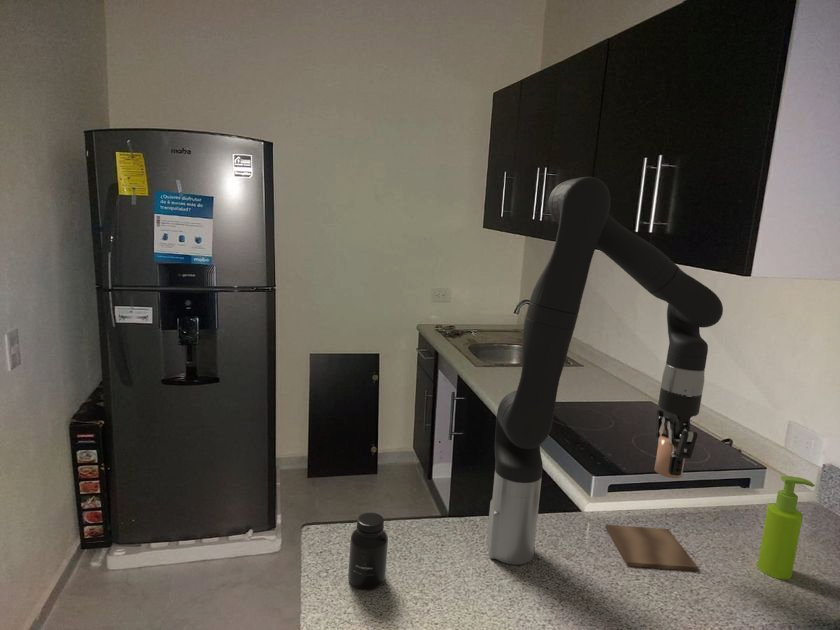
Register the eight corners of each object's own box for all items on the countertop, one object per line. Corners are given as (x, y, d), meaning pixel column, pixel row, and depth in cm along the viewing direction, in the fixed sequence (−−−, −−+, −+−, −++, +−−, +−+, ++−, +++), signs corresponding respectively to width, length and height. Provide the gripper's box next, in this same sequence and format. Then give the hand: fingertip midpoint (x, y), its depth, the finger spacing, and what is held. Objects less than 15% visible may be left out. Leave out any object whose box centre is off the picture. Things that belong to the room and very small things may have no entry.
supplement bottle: (356, 595, 96) (359, 532, 94) (342, 573, 102) (345, 513, 100) (391, 585, 99) (395, 524, 97) (377, 564, 105) (380, 506, 103)
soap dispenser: (802, 582, 107) (820, 487, 104) (764, 576, 109) (781, 482, 106) (789, 565, 113) (806, 474, 110) (752, 559, 114) (768, 469, 111)
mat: (627, 565, 109) (627, 562, 109) (605, 527, 123) (605, 524, 123) (697, 570, 109) (697, 567, 109) (667, 532, 123) (668, 529, 123)
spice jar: (660, 476, 110) (665, 443, 108) (650, 465, 115) (655, 434, 114) (686, 479, 109) (692, 446, 108) (675, 468, 115) (680, 436, 113)
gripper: (649, 377, 116) (637, 452, 119) (677, 397, 102) (664, 482, 105) (684, 380, 116) (672, 455, 119) (718, 401, 102) (703, 486, 105)
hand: (668, 467), depth 112 cm, fingers closed on spice jar, 5 cm apart
